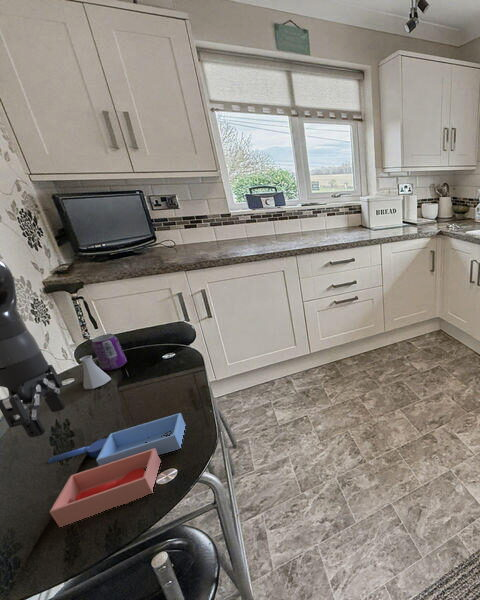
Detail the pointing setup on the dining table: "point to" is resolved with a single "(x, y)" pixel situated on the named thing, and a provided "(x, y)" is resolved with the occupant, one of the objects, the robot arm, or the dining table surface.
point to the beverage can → (108, 351)
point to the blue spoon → (82, 451)
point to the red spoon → (113, 484)
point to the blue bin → (144, 439)
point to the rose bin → (73, 510)
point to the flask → (93, 374)
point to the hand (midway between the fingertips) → (49, 422)
